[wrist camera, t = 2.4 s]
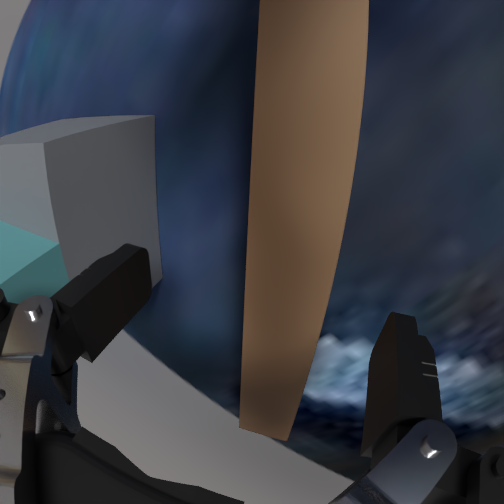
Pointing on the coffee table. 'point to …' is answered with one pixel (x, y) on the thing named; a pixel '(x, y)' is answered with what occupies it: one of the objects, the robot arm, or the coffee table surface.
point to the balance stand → (75, 200)
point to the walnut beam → (297, 194)
